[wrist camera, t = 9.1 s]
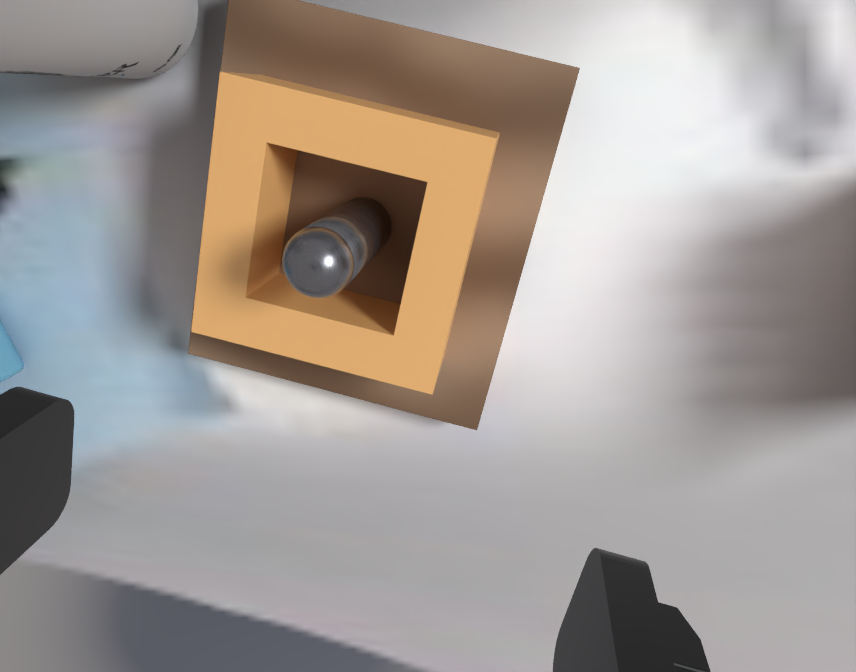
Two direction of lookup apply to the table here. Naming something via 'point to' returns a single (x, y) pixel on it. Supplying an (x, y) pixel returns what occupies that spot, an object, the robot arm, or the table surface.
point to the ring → (267, 216)
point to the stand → (401, 184)
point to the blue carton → (8, 356)
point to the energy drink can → (95, 36)
